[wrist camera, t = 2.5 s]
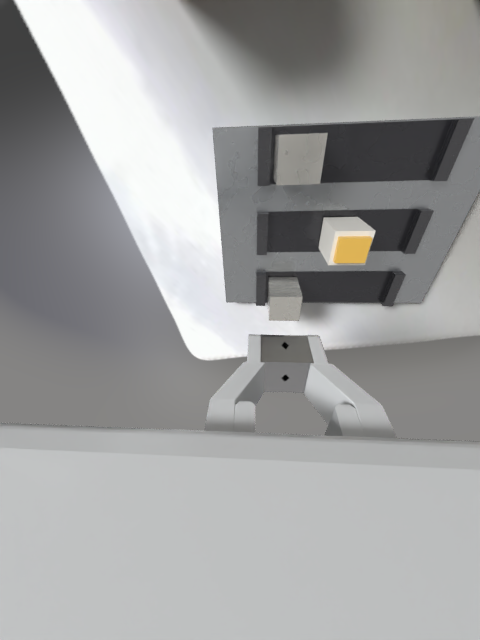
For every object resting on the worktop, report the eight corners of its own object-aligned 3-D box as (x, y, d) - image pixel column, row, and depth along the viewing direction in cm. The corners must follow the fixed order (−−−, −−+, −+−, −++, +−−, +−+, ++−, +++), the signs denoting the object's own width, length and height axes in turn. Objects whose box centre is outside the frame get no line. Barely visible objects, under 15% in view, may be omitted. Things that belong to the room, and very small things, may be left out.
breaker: (357, 216, 21) (378, 232, 18) (349, 247, 23) (367, 267, 19) (323, 217, 21) (337, 233, 18) (318, 247, 23) (329, 267, 20)
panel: (501, 116, 18) (584, 109, 13) (414, 295, 28) (444, 326, 23) (215, 128, 19) (202, 125, 15) (227, 295, 29) (222, 324, 25)
